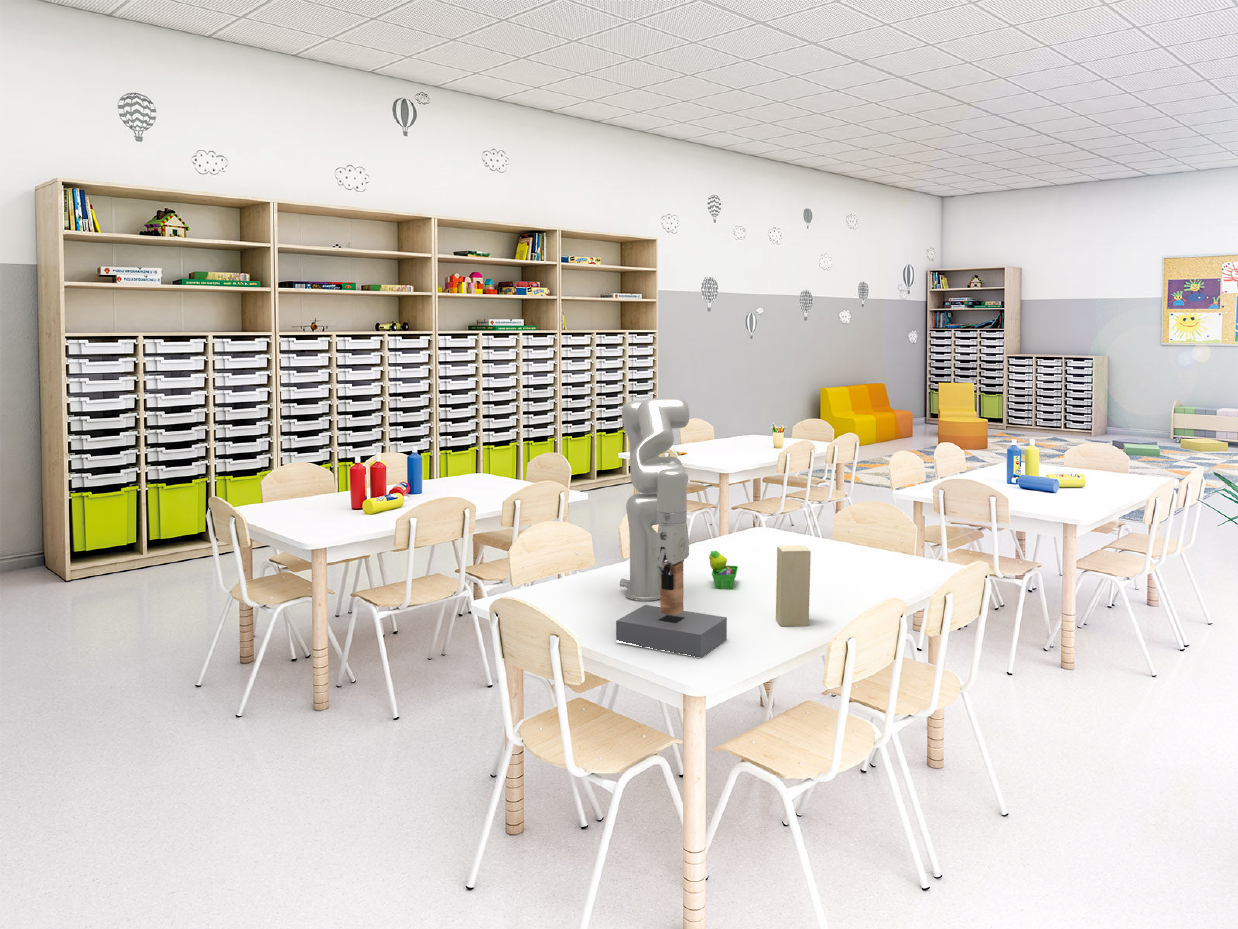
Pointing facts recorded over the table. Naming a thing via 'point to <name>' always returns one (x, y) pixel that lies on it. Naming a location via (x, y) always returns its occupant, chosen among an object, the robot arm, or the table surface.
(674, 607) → the wooden block
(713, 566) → the fruit basket
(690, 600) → the table surface
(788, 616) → the tall beige block
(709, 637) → the grey block with hole
